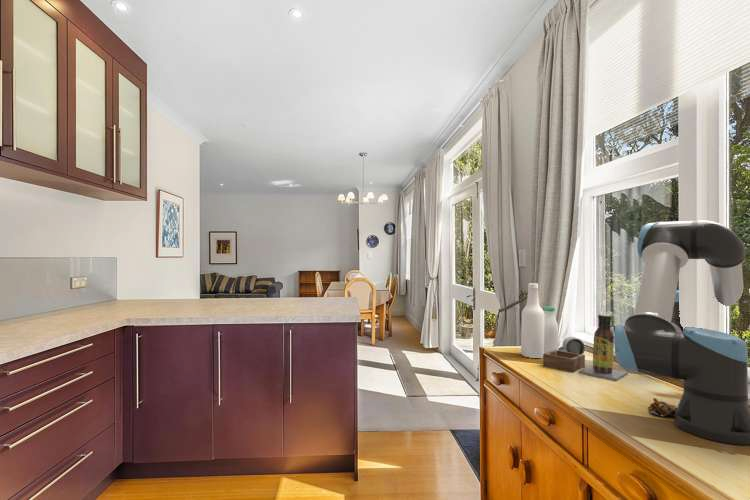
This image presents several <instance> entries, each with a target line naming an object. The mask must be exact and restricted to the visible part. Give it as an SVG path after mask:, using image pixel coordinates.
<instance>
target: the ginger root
mask: <svg viewBox="0 0 750 500" xmlns="http://www.w3.org/2000/svg"><path fill="white" fill-rule="evenodd" d="M647 409H648V410H647V411H648V413H653V414H654V415H657V416H660V417H665V416H671V417H674V418H675V411H676V409H677V407H676V406H675V404H669V403H667V402H666V401H663V400H661V401H660V400H658V399H657V398H656V397H653V402H652V403H650V406H648V407H647Z"/></svg>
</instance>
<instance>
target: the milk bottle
mask: <svg viewBox="0 0 750 500" xmlns="http://www.w3.org/2000/svg"><path fill="white" fill-rule="evenodd" d="M542 310H543V311H544V354H545V353H548V352H551V351H554V350H559V348H560V345H559V343H560V342H559V339H560V338H559V324H558V321H557V319H556V317H555V311H556V308H555V307H554V306H542Z"/></svg>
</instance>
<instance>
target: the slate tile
mask: <svg viewBox="0 0 750 500" xmlns="http://www.w3.org/2000/svg"><path fill="white" fill-rule="evenodd" d="M612 370H613V371H612V373H602V372H598V371H595V370H594V369H593V364H592V365H591V364H590V365H588V366H585V367H584V368H582V369H580V370H578V374H580V375H586V376H590V377H595V378H599V379H604V380H609V381H614V382H618V381H620V380H621V379H623V378H625V377H626V376H627V375H628V374H629V373H628V372H627V371H624V370H618V369H615V368H613V369H612Z"/></svg>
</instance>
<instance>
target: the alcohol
mask: <svg viewBox="0 0 750 500" xmlns="http://www.w3.org/2000/svg"><path fill="white" fill-rule="evenodd" d="M527 288H528V289H527V297H526V299H527V300H526V305H525V306H524V308H523V309H522V310H521V323H520V324H521V325H520V326H521V329H520V330H521V332H520V333H521V334H520V339H521V341H520V343H521V344H520V345H521V347H520V351H521V352H520V353H521V356H522V355H523V356H525V357H524V358H526V357H529V358H528V359H531V358H541V359H543V354H544V311H543V307H541V306H540V298H539V284H538V283H536V282H529V283H528V284H527ZM523 356H522V357H523Z"/></svg>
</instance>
